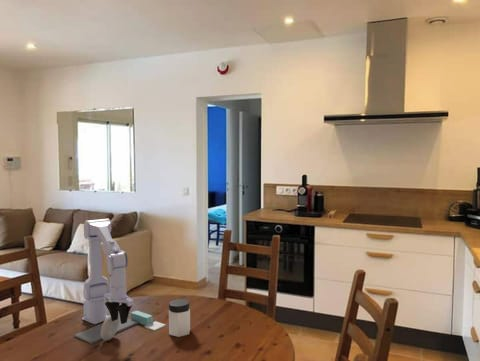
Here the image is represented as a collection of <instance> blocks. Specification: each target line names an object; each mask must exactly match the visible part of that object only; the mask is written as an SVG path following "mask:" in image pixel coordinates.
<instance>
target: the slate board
mask: <svg viewBox="0 0 480 361" xmlns="http://www.w3.org/2000/svg"><path fill="white" fill-rule="evenodd" d="M103 323H104V322H103ZM103 323H102V322H101V324H97V325H95V326H92V327H90V328H88V329H85V330H83V331H80V332H77V333H76V334H74V337H75V338H77V339H79V340H81V341H83V342H86V343H88V344H90V345H93V344H95V343H99V342H100V341H102V340H103V339H102V338H101V328H102V325H103ZM138 324H139V323H138V322H137V321H135V320H132V319H131V318H129V317H128V319H127V322H126V323H124V324H121V321H120V316H119V326H118V329H117V331H116V333H115V335H116V334H118V333H120V332H123V331H124V330H127V329H129V328H132V327H134V326H136V325H138Z"/></svg>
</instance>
